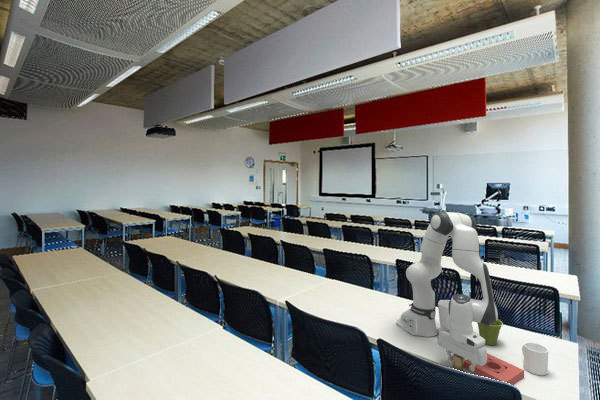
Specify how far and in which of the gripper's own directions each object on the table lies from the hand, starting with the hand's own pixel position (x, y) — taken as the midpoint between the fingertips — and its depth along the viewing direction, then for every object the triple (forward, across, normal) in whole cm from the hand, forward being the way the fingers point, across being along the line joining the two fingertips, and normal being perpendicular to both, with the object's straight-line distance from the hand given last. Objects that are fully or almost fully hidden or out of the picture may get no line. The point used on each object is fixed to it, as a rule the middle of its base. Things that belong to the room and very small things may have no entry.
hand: (460, 365), depth 133 cm
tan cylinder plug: (+3, -1, -1) cm, 3 cm away
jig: (+3, +8, +11) cm, 14 cm away
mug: (+4, +15, +29) cm, 33 cm away
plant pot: (+3, -7, +36) cm, 36 cm away
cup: (+3, -22, +25) cm, 34 cm away
